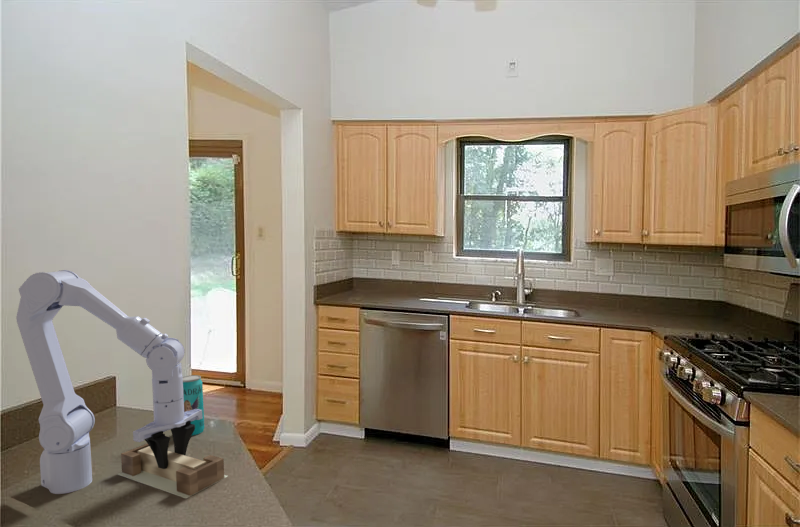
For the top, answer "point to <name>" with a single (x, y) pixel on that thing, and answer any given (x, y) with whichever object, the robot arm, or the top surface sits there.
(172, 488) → the base board
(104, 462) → the top surface
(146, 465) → the slat
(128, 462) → the left end cap
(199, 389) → the beverage can
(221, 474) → the right end cap
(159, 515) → the top surface
